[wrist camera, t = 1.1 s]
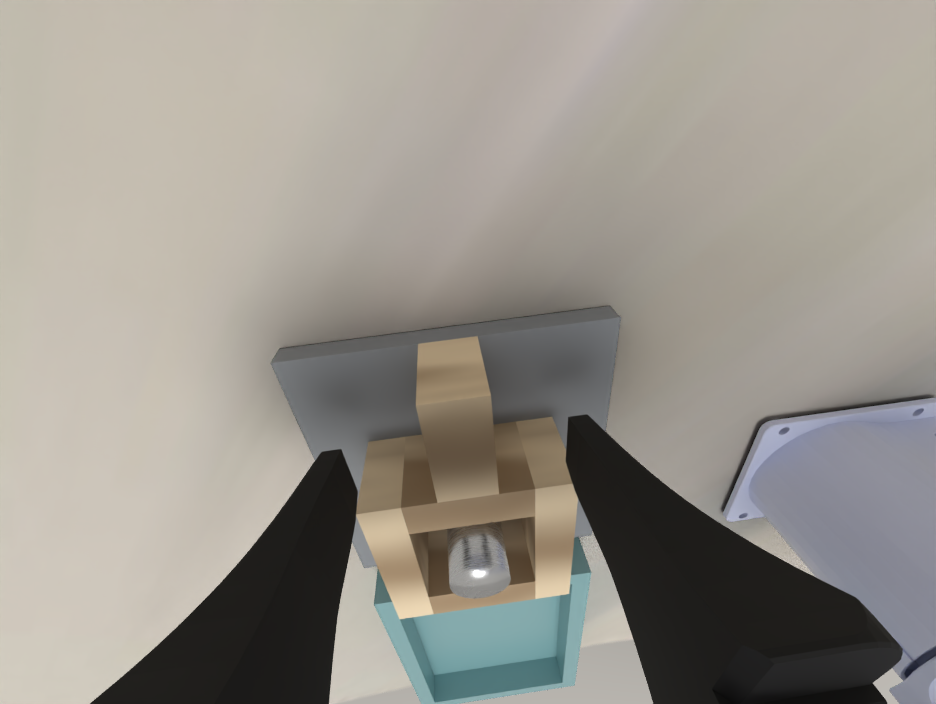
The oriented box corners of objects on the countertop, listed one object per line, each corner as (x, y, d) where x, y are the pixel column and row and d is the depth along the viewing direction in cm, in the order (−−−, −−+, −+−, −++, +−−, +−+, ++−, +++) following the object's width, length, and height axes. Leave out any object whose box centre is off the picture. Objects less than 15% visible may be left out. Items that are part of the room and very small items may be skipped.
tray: (576, 530, 23) (591, 572, 21) (564, 647, 32) (574, 685, 30) (378, 558, 23) (373, 604, 21) (424, 669, 32) (423, 708, 30)
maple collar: (548, 525, 21) (569, 593, 18) (403, 546, 21) (399, 619, 18) (554, 326, 14) (589, 382, 11) (339, 354, 14) (315, 419, 11)
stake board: (585, 519, 22) (625, 622, 18) (366, 550, 22) (350, 664, 18) (610, 305, 15) (690, 389, 10) (279, 348, 15) (212, 454, 10)
